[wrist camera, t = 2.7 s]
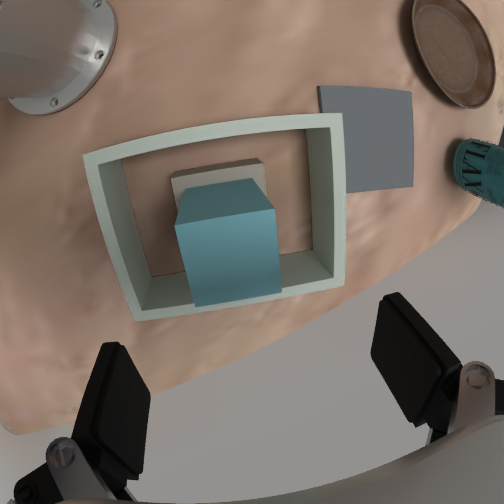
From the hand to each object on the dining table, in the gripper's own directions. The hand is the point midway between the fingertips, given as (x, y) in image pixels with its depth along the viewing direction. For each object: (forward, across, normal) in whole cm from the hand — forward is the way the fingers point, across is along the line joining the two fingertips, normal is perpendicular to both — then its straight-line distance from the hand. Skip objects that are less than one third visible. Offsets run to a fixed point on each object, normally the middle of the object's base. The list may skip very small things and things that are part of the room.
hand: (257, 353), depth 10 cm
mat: (+17, -14, -5) cm, 23 cm away
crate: (+17, 0, -1) cm, 17 cm away
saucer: (+18, -26, -17) cm, 36 cm away
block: (+14, 0, -1) cm, 14 cm away
